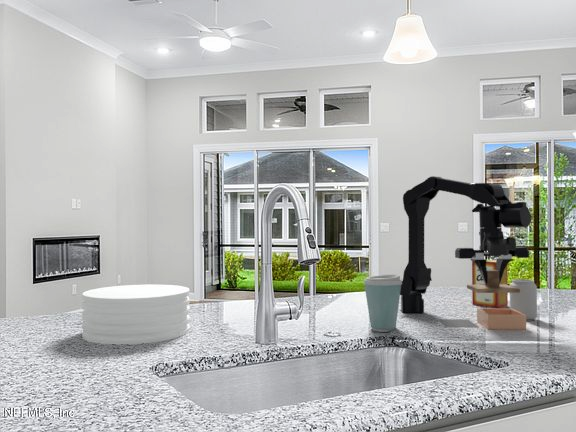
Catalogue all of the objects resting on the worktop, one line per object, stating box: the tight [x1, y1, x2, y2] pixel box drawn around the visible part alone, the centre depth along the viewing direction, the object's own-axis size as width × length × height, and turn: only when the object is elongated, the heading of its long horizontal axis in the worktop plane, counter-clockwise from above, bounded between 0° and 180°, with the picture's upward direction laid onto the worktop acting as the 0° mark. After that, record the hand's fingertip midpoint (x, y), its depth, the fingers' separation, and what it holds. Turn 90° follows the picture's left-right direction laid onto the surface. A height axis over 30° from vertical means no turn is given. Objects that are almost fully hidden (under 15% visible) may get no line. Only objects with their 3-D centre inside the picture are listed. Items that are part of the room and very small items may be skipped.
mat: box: [437, 318, 479, 328], centre depth 147 cm, size 9×11×1 cm
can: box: [509, 278, 538, 322], centre depth 155 cm, size 8×8×12 cm
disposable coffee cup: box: [363, 274, 403, 333], centre depth 142 cm, size 11×11×15 cm
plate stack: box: [81, 283, 191, 346], centre depth 140 cm, size 28×28×12 cm
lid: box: [466, 270, 520, 294], centre depth 144 cm, size 11×11×6 cm
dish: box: [476, 307, 527, 331], centre depth 143 cm, size 10×10×4 cm
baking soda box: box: [471, 259, 509, 309], centre depth 181 cm, size 10×6×16 cm
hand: (492, 283), depth 144 cm, fingers closed on lid, 3 cm apart
